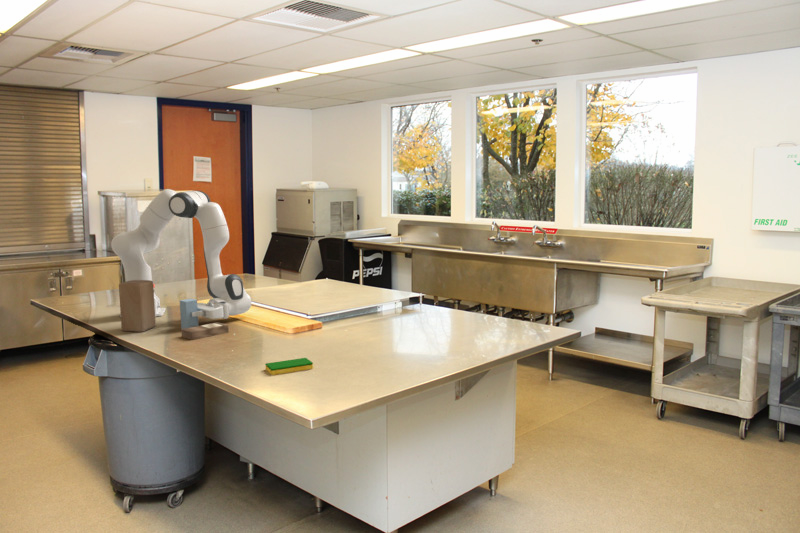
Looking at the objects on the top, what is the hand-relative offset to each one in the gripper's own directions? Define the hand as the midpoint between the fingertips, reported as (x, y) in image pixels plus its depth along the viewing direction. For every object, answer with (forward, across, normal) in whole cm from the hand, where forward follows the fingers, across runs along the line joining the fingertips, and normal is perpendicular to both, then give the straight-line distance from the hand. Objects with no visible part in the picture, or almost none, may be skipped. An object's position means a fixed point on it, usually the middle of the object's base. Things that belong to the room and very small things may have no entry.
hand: (187, 313), depth 264 cm
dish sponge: (+8, +77, +7) cm, 78 cm away
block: (+13, -16, +7) cm, 22 cm away
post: (-1, 0, +6) cm, 7 cm away
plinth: (0, +14, +6) cm, 16 cm away
